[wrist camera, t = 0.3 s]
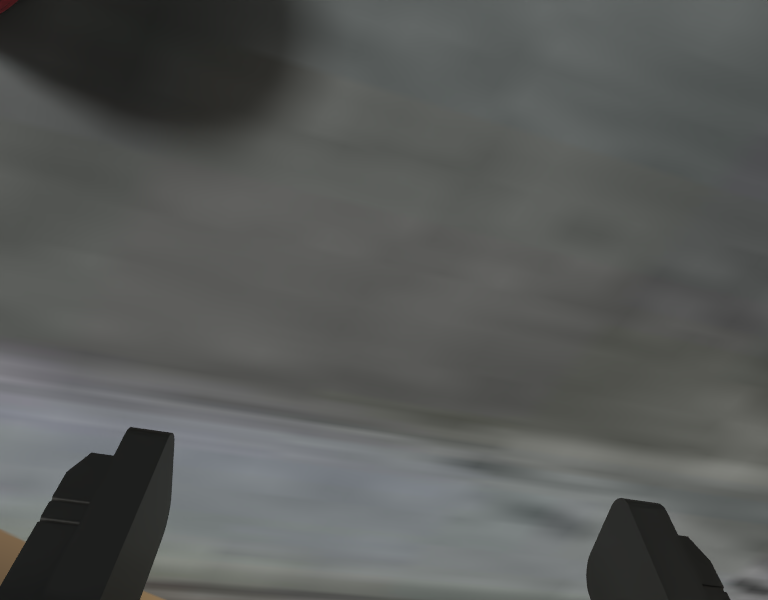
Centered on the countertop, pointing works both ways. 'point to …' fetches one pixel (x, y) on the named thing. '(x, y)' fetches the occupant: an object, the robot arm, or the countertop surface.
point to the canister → (6, 4)
